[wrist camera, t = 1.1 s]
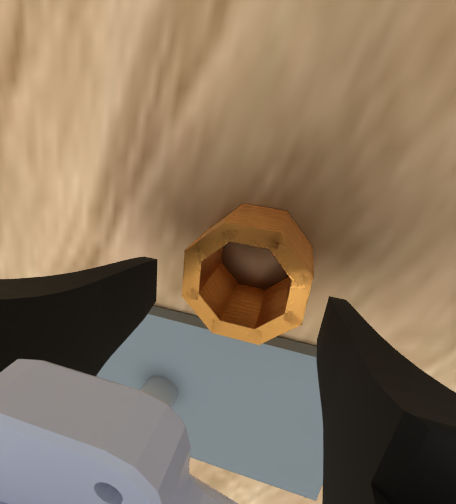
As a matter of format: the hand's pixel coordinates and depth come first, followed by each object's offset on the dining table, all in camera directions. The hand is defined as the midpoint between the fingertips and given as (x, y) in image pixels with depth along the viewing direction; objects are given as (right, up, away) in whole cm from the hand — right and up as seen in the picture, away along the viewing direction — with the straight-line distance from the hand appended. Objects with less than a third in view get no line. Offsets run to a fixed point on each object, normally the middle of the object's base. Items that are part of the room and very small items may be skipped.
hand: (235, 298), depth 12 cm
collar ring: (+1, +2, +5) cm, 5 cm away
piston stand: (-2, -8, +9) cm, 12 cm away
